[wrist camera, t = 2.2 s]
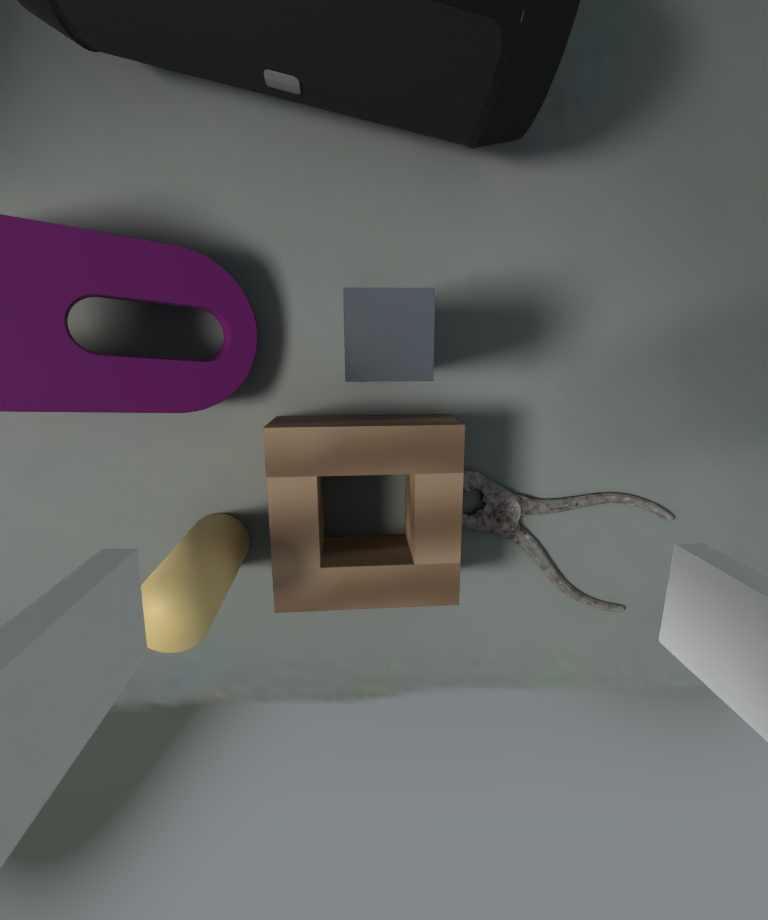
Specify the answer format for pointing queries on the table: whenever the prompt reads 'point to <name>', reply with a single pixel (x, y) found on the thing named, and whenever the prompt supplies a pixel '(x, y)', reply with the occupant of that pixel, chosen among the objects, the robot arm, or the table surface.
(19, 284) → the mounting bracket
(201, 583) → the round peg
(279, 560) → the socket block
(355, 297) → the square peg
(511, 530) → the pliers
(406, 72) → the portable speaker
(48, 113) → the table surface
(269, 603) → the table surface
